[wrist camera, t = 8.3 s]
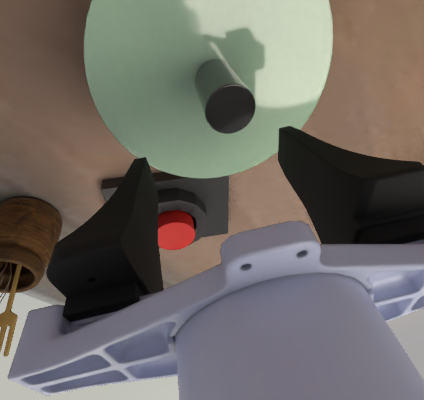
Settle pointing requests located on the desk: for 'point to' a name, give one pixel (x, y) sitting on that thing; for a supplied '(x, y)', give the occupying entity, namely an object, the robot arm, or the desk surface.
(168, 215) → the button
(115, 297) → the robot arm
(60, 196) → the desk surface
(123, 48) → the lid
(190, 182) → the button box
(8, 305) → the utensil holder
